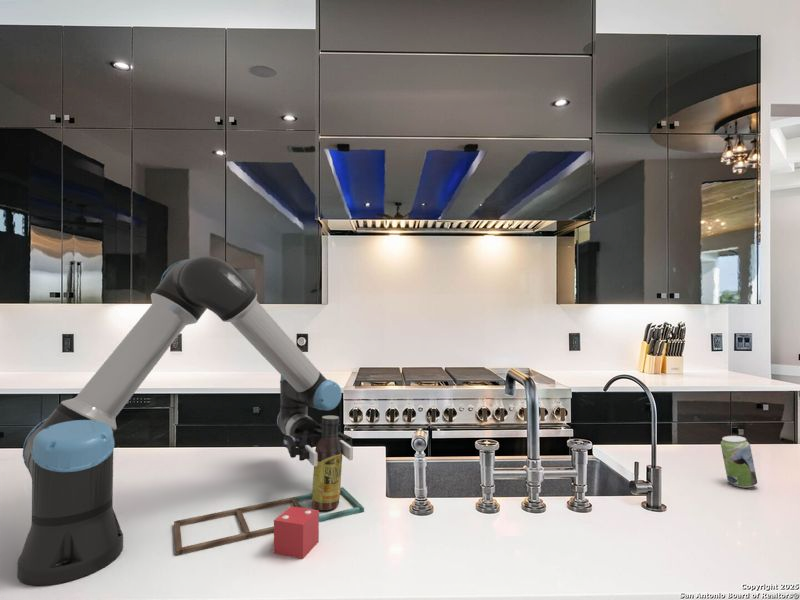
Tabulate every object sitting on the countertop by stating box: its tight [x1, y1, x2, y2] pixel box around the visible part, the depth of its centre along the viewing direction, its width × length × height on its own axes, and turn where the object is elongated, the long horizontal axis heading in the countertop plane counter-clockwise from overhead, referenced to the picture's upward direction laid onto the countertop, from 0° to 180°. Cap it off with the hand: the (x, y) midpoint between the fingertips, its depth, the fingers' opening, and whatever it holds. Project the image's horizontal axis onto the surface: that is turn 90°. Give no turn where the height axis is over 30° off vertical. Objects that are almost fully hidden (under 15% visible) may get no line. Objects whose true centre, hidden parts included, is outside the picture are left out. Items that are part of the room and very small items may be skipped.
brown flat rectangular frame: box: [173, 486, 365, 556], centre depth 95 cm, size 37×13×1 cm, turn 118°
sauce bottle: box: [311, 415, 343, 511], centre depth 101 cm, size 7×6×20 cm
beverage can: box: [720, 435, 758, 489], centre depth 112 cm, size 6×7×12 cm
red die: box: [273, 505, 320, 559], centre depth 83 cm, size 6×6×6 cm
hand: (333, 456), depth 97 cm, fingers open, 7 cm apart
